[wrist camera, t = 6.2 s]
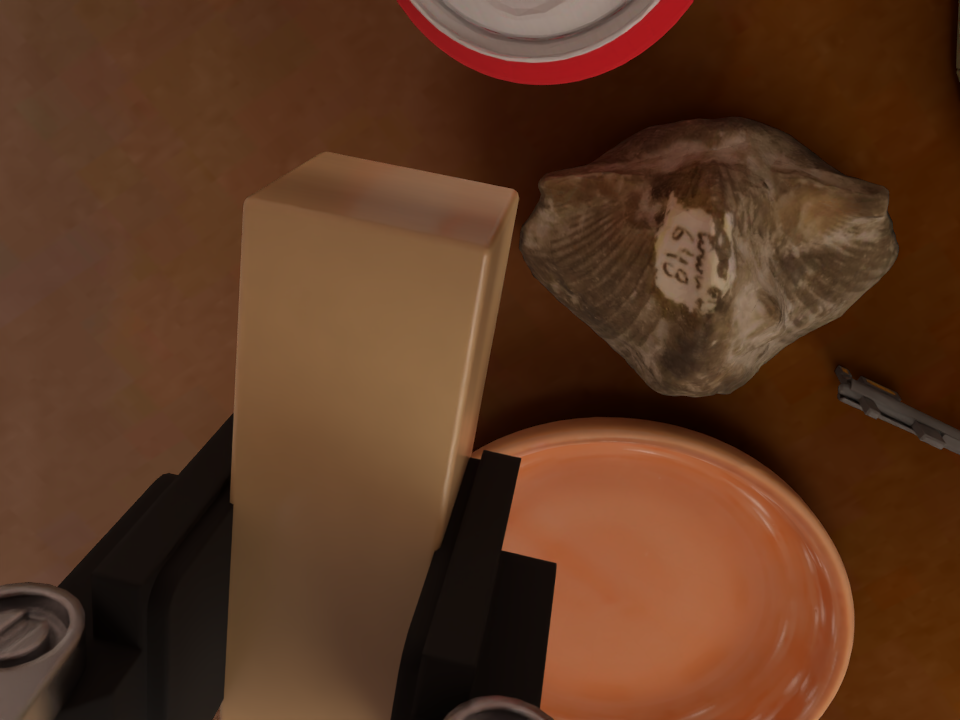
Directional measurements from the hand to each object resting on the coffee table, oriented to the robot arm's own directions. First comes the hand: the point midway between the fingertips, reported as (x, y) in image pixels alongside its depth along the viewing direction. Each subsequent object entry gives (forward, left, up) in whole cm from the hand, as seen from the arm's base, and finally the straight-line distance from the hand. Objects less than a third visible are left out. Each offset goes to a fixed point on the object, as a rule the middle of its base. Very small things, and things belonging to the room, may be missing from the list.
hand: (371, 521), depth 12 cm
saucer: (+13, +6, -17) cm, 22 cm away
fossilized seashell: (0, +6, -17) cm, 18 cm away
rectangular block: (0, 0, 0) cm, 0 cm away
